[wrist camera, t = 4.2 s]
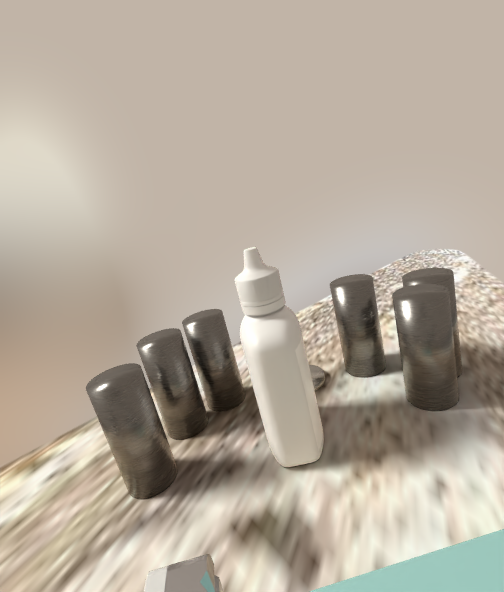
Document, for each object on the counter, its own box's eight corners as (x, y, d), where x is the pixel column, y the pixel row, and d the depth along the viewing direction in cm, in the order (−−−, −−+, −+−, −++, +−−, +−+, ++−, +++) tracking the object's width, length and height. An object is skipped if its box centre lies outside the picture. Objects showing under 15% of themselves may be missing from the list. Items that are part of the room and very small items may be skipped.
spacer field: (123, 505, 21) (78, 398, 19) (147, 412, 30) (118, 333, 28) (501, 392, 22) (495, 282, 20) (414, 336, 31) (404, 256, 29)
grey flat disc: (296, 405, 27) (294, 395, 26) (272, 386, 30) (269, 378, 30) (335, 384, 28) (333, 374, 28) (307, 368, 31) (306, 360, 31)
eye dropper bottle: (342, 412, 24) (306, 231, 21) (313, 477, 20) (262, 258, 16) (282, 406, 26) (241, 241, 23) (244, 463, 22) (186, 268, 18)
